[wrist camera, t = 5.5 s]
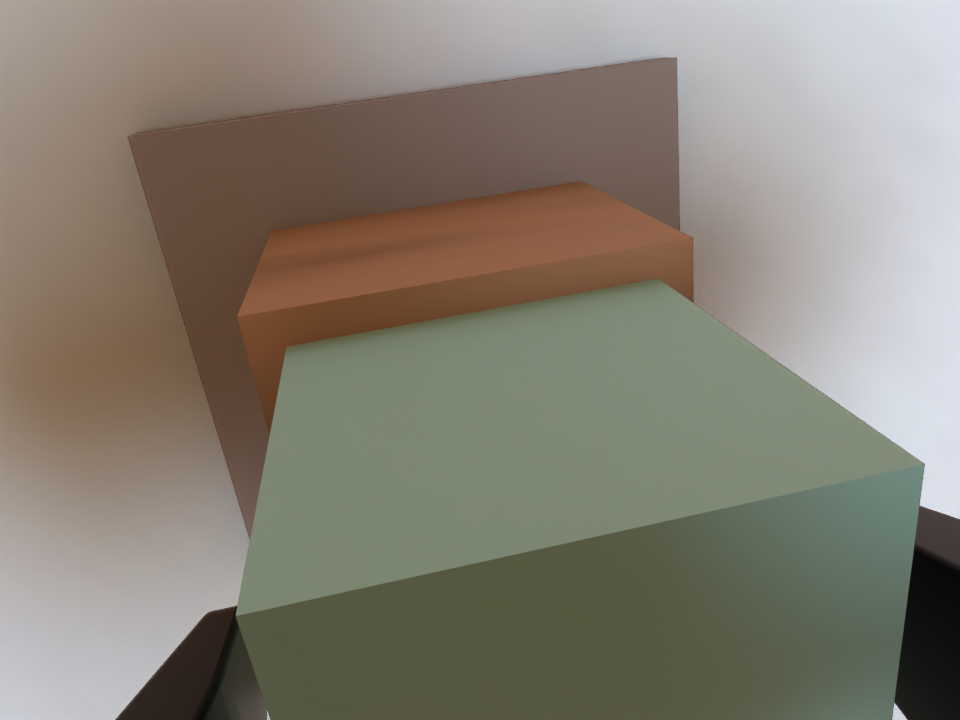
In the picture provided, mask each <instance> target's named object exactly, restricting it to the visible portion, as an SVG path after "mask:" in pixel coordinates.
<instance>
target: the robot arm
mask: <svg viewBox="0 0 960 720" xmlns="http://www.w3.org/2000/svg"><path fill="white" fill-rule="evenodd" d="M236 611H237V606H234V607H229V608H224V609H220V610H215V611H211V612H209V613H207V614H206V615H205V616H204V617H203V618H202V619H201V620H200V621H199V623H198V624H197V625H196V626H195V627H194V628H193V630H192V631H191V632H190V633H189V634H188V635H187V637H186V638H185V639H184V640H183V641H182V642H181V644H180V645H179V646H178V647H177V648H176V649H175V651H174V652H173V653H172V654H171V655H170V656H169V658H168V659H167V660H166V661H165V662H164V663H163V665H162V666H161V667H160V668H159V669H158V670H157V672H156V673H155V674H154V675H153V676H152V677H151V679H150V680H149V681H148V682H147V683H146V684H145V686H144V687H143V688H142V689H141V690H140V691H139V693H138V694H137V695H136V696H135V697H134V698H133V700H132V701H131V702H130V703H129V704H128V705H127V707H126V708H125V709H124V710H123V711H122V712H121V714H120V715H119V716H118V717H117V718H116V719H115V720H267V707H266V705H265V702H264V699H263V696H262V693H261V690H260V687H259V684H258V681H257V678H256V675H255V672H254V669H253V666H252V663H251V660H250V657H249V654H248V651H247V648H246V645H245V642H244V639H243V637H242V634H241V631H240V628H239V625H238V622H237V619H236ZM894 702H895V704H896V705H897V706H898V708H899V709H900V710H901V712H902V713H903V714H904V716H905V717H906V718H907V720H960V519H957V518H954V517H951V516H948V515H946V514H943V513H940V512H937V511H934V510H931V509H928V508H925V507H922V506H919V513H918V520H917V528H916V536H915V544H914V552H913V559H912V567H911V575H910V583H909V591H908V599H907V606H906V614H905V622H904V630H903V638H902V645H901V653H900V661H899V669H898V677H897V684H896V692H895V700H894Z"/></svg>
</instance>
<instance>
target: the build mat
mask: <svg viewBox="0 0 960 720" xmlns="http://www.w3.org/2000/svg"><path fill="white" fill-rule="evenodd" d="M128 140H129V143H130V147H131V150H132V153H133V157H134V160H135V163H136V166H137V170H138V173H139V176H140V180H141V183H142V186H143V189H144V193H145V196H146V199H147V203H148V206H149V209H150V212H151V216H152V219H153V222H154V226H155V229H156V232H157V235H158V239H159V242H160V245H161V249H162V252H163V255H164V258H165V262H166V265H167V268H168V272H169V275H170V278H171V281H172V285H173V288H174V291H175V295H176V298H177V301H178V304H179V308H180V311H181V314H182V318H183V321H184V324H185V327H186V331H187V334H188V337H189V341H190V344H191V347H192V351H193V354H194V357H195V360H196V364H197V367H198V370H199V374H200V377H201V380H202V383H203V387H204V390H205V393H206V397H207V400H208V403H209V406H210V410H211V413H212V416H213V420H214V423H215V426H216V429H217V433H218V436H219V439H220V443H221V446H222V449H223V452H224V456H225V459H226V462H227V466H228V469H229V472H230V475H231V479H232V482H233V485H234V489H235V492H236V495H237V498H238V502H239V505H240V508H241V512H242V515H243V518H244V521H245V525H246V528H247V531H248V535H249V538H250V537H251V532H252V527H253V521H254V516H255V511H256V506H257V500H258V495H259V490H260V484H261V479H262V474H263V469H264V463H265V458H266V453H267V447H268V442H269V437H270V436H269V432H268V428H267V425H266V421H265V417H264V414H263V410H262V406H261V403H260V399H259V395H258V392H257V388H256V384H255V381H254V377H253V373H252V370H251V366H250V362H249V359H248V355H247V351H246V348H245V344H244V340H243V337H242V333H241V329H240V326H239V322H238V318H237V315H238V313H239V310H240V308H241V305H242V303H243V300H244V298H245V296H246V293H247V291H248V288H249V286H250V283H251V281H252V278H253V276H254V273H255V271H256V268H257V266H258V263H259V261H260V258H261V256H262V253H263V251H264V248H265V246H266V243H267V241H268V238H269V236H270V233H271V231H273V230H280V229H286V228H292V227H298V226H305V225H311V224H317V223H323V222H329V221H336V220H342V219H348V218H354V217H361V216H367V215H373V214H379V213H385V212H392V211H398V210H404V209H410V208H417V207H423V206H429V205H435V204H442V203H448V202H454V201H460V200H466V199H473V198H479V197H485V196H491V195H498V194H504V193H510V192H516V191H523V190H529V189H535V188H541V187H547V186H554V185H560V184H566V183H572V182H579V181H582V182H584V183H586V184H588V185H590V186H592V187H594V188H596V189H598V190H600V191H602V192H604V193H606V194H608V195H610V196H612V197H614V198H616V199H618V200H620V201H622V202H623V203H625V204H627V205H629V206H631V207H633V208H635V209H637V210H639V211H641V212H643V213H645V214H647V215H649V216H651V217H653V218H655V219H657V220H659V221H661V222H662V223H664V224H666V225H668V226H670V227H672V228H674V229H676V230H678V231H680V213H679V155H678V98H677V58H659V59H652V60H645V61H638V62H631V63H624V64H617V65H610V66H603V67H596V68H589V69H582V70H575V71H568V72H561V73H554V74H547V75H540V76H533V77H526V78H519V79H512V80H505V81H498V82H491V83H484V84H477V85H470V86H463V87H456V88H449V89H442V90H435V91H428V92H421V93H414V94H407V95H400V96H394V97H387V98H380V99H373V100H366V101H359V102H352V103H345V104H338V105H331V106H324V107H317V108H310V109H303V110H296V111H289V112H282V113H275V114H268V115H261V116H254V117H247V118H240V119H233V120H226V121H219V122H212V123H205V124H198V125H191V126H184V127H177V128H170V129H163V130H156V131H149V132H142V133H136V134H133V135H130V136H128Z"/></svg>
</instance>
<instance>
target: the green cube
mask: <svg viewBox="0 0 960 720" xmlns="http://www.w3.org/2000/svg"><path fill="white" fill-rule="evenodd" d="M924 466H925V464H924V463H923V462H921V461H920V460H918V459H917V458H915V457H914V456H913V455H911V454H910V453H908V452H907V451H905V450H904V449H902V448H901V447H900V446H898V445H897V444H895V443H894V442H892V441H891V440H890V439H888V438H887V437H885V436H884V435H882V434H881V433H880V432H878V431H877V430H875V429H874V428H872V427H871V426H869V425H868V424H867V423H865V422H864V421H862V420H861V419H859V418H858V417H857V416H855V415H854V414H852V413H851V412H849V411H848V410H846V409H845V408H844V407H842V406H841V405H839V404H838V403H836V402H835V401H834V400H832V399H831V398H829V397H828V396H826V395H825V394H823V393H822V392H821V391H819V390H818V389H816V388H815V387H813V386H812V385H811V384H809V383H808V382H806V381H805V380H803V379H802V378H800V377H799V376H798V375H796V374H795V373H793V372H792V371H790V370H789V369H788V368H786V367H785V366H783V365H782V364H780V363H779V362H777V361H776V360H775V359H773V358H772V357H770V356H769V355H767V354H766V353H765V352H763V351H762V350H760V349H759V348H757V347H756V346H754V345H753V344H752V343H750V342H749V341H747V340H746V339H744V338H743V337H742V336H740V335H739V334H737V333H736V332H734V331H733V330H731V329H730V328H729V327H727V326H726V325H724V324H723V323H721V322H720V321H719V320H717V319H716V318H714V317H713V316H711V315H710V314H708V313H707V312H706V311H704V310H703V309H701V308H700V307H698V306H697V305H696V304H694V303H693V302H691V301H690V300H688V299H687V298H685V297H684V296H683V295H681V294H680V293H678V292H677V291H675V290H674V289H673V288H671V287H670V286H668V285H667V284H665V283H664V282H663V281H661V280H660V279H652V280H647V281H642V282H636V283H631V284H625V285H620V286H614V287H609V288H603V289H598V290H592V291H587V292H582V293H576V294H571V295H565V296H560V297H554V298H549V299H543V300H538V301H532V302H527V303H522V304H516V305H511V306H505V307H500V308H494V309H489V310H483V311H478V312H473V313H467V314H462V315H456V316H451V317H445V318H440V319H434V320H429V321H423V322H418V323H413V324H407V325H402V326H396V327H391V328H385V329H380V330H374V331H369V332H363V333H358V334H353V335H347V336H342V337H336V338H331V339H325V340H320V341H314V342H309V343H303V344H298V345H293V346H287V347H286V352H285V357H284V363H283V368H282V373H281V378H280V384H279V389H278V394H277V400H276V405H275V410H274V416H273V421H272V426H271V431H270V437H269V442H268V447H267V453H266V458H265V463H264V469H263V474H262V479H261V484H260V490H259V495H258V500H257V506H256V511H255V516H254V521H253V527H252V532H251V537H250V543H249V548H248V553H247V559H246V564H245V569H244V574H243V580H242V585H241V590H240V596H239V601H238V606H237V611H236V619H237V622H238V625H239V628H240V631H241V634H242V637H243V639H244V642H245V645H246V648H247V651H248V654H249V657H250V660H251V663H252V666H253V669H254V672H255V675H256V678H257V681H258V684H259V687H260V690H261V693H262V696H263V699H264V702H265V705H266V707H267V710H268V713H269V716H270V719H271V720H892V716H893V708H894V700H895V692H896V684H897V677H898V669H899V661H900V653H901V645H902V638H903V630H904V622H905V614H906V606H907V599H908V591H909V583H910V575H911V567H912V559H913V552H914V544H915V536H916V528H917V520H918V513H919V505H920V497H921V489H922V481H923V474H924Z"/></svg>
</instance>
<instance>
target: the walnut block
mask: <svg viewBox="0 0 960 720" xmlns="http://www.w3.org/2000/svg"><path fill="white" fill-rule="evenodd" d="M652 279H660V280H661V281H663V282H664V283H665V284H667V285H668V286H670V287H671V288H673V289H674V290H675V291H677V292H678V293H680V294H681V295H683V296H684V297H685V298H687V299H688V300H690V301H691V302H693V303H694V299H693V238H692V237H690V236H688V235H686V234H684V233H682V232H680V231H678V230H676V229H674V228H672V227H670V226H668V225H666V224H664V223H662V222H661V221H659V220H657V219H655V218H653V217H651V216H649V215H647V214H645V213H643V212H641V211H639V210H637V209H635V208H633V207H631V206H629V205H627V204H625V203H623V202H622V201H620V200H618V199H616V198H614V197H612V196H610V195H608V194H606V193H604V192H602V191H600V190H598V189H596V188H594V187H592V186H590V185H588V184H586V183H584V182H582V181H579V182H572V183H566V184H560V185H554V186H547V187H541V188H535V189H529V190H523V191H516V192H510V193H504V194H498V195H491V196H485V197H479V198H473V199H466V200H460V201H454V202H448V203H442V204H435V205H429V206H423V207H417V208H410V209H404V210H398V211H392V212H385V213H379V214H373V215H367V216H361V217H354V218H348V219H342V220H336V221H329V222H323V223H317V224H311V225H305V226H298V227H292V228H286V229H280V230H273V231H271V233H270V236H269V238H268V241H267V243H266V246H265V248H264V251H263V253H262V256H261V258H260V261H259V263H258V266H257V268H256V271H255V273H254V276H253V278H252V281H251V283H250V286H249V288H248V291H247V293H246V296H245V298H244V300H243V303H242V305H241V308H240V310H239V313H238V315H237V318H238V322H239V326H240V329H241V333H242V337H243V340H244V344H245V348H246V351H247V355H248V359H249V362H250V366H251V370H252V373H253V377H254V381H255V384H256V388H257V392H258V395H259V399H260V403H261V406H262V410H263V414H264V417H265V421H266V425H267V428H268V432H269V436H270V431H271V426H272V421H273V416H274V410H275V405H276V400H277V394H278V389H279V384H280V378H281V373H282V368H283V363H284V357H285V352H286V347H287V346H293V345H298V344H303V343H309V342H314V341H320V340H325V339H331V338H336V337H342V336H347V335H353V334H358V333H363V332H369V331H374V330H380V329H385V328H391V327H396V326H402V325H407V324H413V323H418V322H423V321H429V320H434V319H440V318H445V317H451V316H456V315H462V314H467V313H473V312H478V311H483V310H489V309H494V308H500V307H505V306H511V305H516V304H522V303H527V302H532V301H538V300H543V299H549V298H554V297H560V296H565V295H571V294H576V293H582V292H587V291H592V290H598V289H603V288H609V287H614V286H620V285H625V284H631V283H636V282H642V281H647V280H652Z"/></svg>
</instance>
